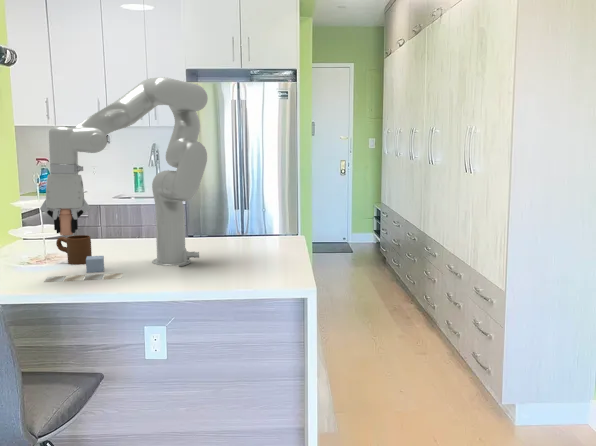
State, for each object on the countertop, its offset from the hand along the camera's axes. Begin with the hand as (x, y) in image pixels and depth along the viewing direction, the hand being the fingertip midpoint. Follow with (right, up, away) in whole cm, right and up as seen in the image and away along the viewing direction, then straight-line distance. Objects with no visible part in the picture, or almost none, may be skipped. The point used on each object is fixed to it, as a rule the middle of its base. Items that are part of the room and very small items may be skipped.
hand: (66, 231), depth 166 cm
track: (+4, -15, +4) cm, 16 cm away
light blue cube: (+4, -13, +13) cm, 19 cm away
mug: (-7, -11, +24) cm, 28 cm away
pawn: (0, -1, 0) cm, 1 cm away
